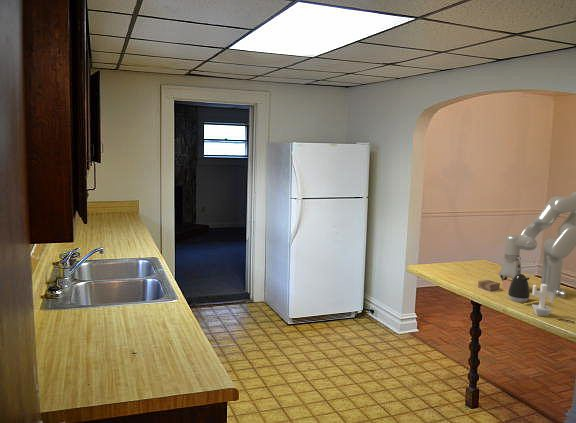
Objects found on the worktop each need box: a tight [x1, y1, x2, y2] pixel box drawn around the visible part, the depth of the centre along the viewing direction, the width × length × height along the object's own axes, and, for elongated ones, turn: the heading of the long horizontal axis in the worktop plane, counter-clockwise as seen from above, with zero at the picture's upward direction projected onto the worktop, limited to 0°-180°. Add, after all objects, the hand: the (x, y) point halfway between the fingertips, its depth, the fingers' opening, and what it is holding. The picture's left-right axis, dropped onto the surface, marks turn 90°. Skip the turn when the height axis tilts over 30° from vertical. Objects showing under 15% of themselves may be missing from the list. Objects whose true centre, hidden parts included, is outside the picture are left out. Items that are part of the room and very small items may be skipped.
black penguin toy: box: [507, 273, 531, 304], centre depth 261 cm, size 10×10×15 cm
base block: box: [477, 279, 501, 293], centre depth 281 cm, size 8×8×4 cm
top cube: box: [501, 278, 512, 291], centre depth 282 cm, size 5×5×5 cm
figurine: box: [531, 283, 555, 317], centre depth 242 cm, size 7×9×15 cm
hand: (509, 288), depth 283 cm, fingers closed on top cube, 4 cm apart
